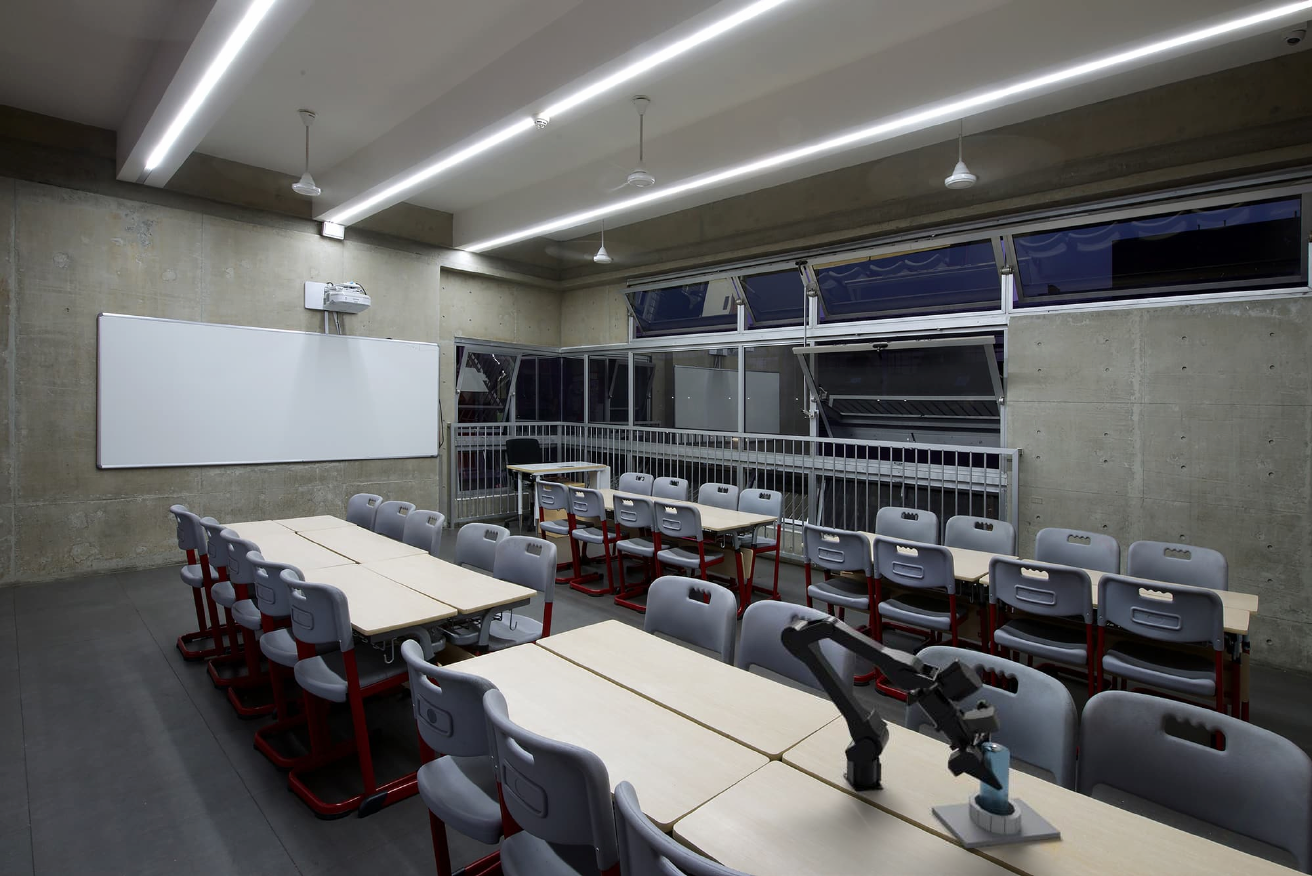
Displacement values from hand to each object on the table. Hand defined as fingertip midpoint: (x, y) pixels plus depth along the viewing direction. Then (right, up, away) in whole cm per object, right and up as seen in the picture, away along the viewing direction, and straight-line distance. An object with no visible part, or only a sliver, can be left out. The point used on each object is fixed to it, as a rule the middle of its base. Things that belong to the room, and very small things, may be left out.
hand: (1002, 782), depth 123 cm
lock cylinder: (-1, -7, +1) cm, 7 cm away
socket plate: (-1, -9, +1) cm, 9 cm away
